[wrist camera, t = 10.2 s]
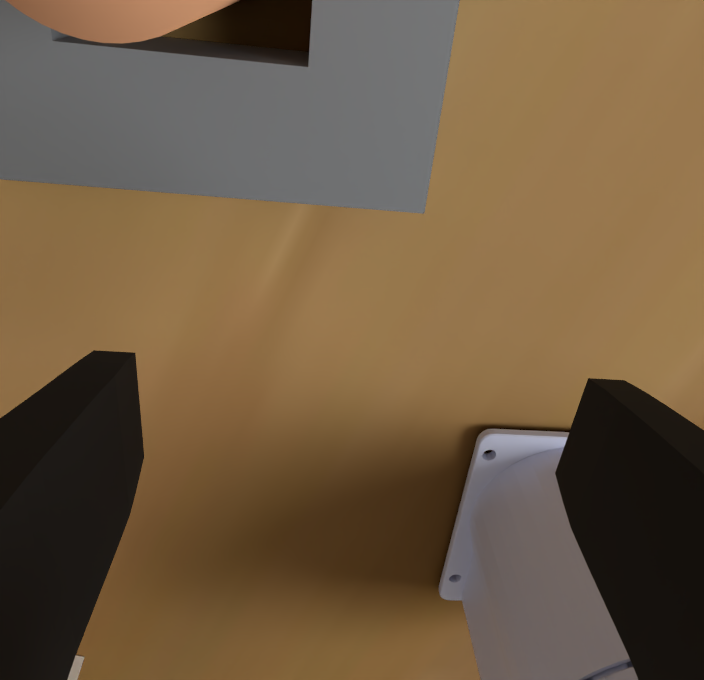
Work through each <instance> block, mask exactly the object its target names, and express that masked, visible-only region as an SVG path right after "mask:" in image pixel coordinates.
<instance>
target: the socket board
mask: <svg viewBox="0 0 704 680" xmlns="http://www.w3.org/2000/svg"><path fill="white" fill-rule="evenodd" d="M459 1H460V0H312V12H311V28H310V44H309V52H305V51H295V50H286V49H276V48H267V47H257V46H248V45H238V44H229V43H219V42H209V41H200V40H190V39H181V38H171V37H162V36H160V37H156V38H152V39H148V40H145V41H140V42H131V43H122V44H121V43H100V42H94V41H88V40H83V39H79V38H76V37H73V36H69V35H66V34H63V33H60V32H58V31H56V30H54V29H51V28H49V27H47V26H45V25H42V24H40V23H39V22H37V21H35V20H34V19H32V18H30V17H28V16H27V15H25V14H23V13H22V12H20V11H19V10H18V9H16V8H15V7H14V6H12V5H11V4H10V3H8V2H7V1H6V0H0V179H4V180H17V181H29V182H41V183H54V184H66V185H79V186H91V187H103V188H116V189H128V190H140V191H153V192H165V193H177V194H190V195H202V196H214V197H227V198H239V199H251V200H264V201H276V202H289V203H301V204H313V205H326V206H338V207H350V208H363V209H375V210H387V211H400V212H412V213H424V212H425V206H426V200H427V194H428V188H429V182H430V175H431V169H432V163H433V157H434V151H435V145H436V139H437V133H438V127H439V121H440V115H441V109H442V103H443V97H444V91H445V85H446V79H447V73H448V67H449V61H450V55H451V49H452V43H453V37H454V31H455V25H456V19H457V13H458V7H459Z"/></svg>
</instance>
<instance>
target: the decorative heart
mask: <svg viewBox="0 0 704 680" xmlns="http://www.w3.org/2000/svg"><path fill="white" fill-rule="evenodd" d="M83 661H84V657H83V656H75V659H74V662H73V665H72V668H71V670H70V673H69V676H68V679H67V680H77V679H78V676H79V673H80V670H81V667H82V664H83Z"/></svg>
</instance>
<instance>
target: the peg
mask: <svg viewBox="0 0 704 680" xmlns="http://www.w3.org/2000/svg"><path fill="white" fill-rule="evenodd" d="M6 1H7V2H8V3H10V4H11V5H12V6H14V7H15V8H16V9H18V10H19V11H20V12H22V13H23V14H25V15H27V16H28V17H30V18H32V19H34V20H35V21H37V22H39V23H40V24H42V25H45V26H47V27H49V28H51V29H54V30H56V31H58V32H60V33H63V34H66V35H69V36H73V37H76V38H79V39H83V40H88V41H94V42H100V43H121V44H122V43H131V42H140V41H145V40H148V39H152V38H156V37H160V36H162V35H164V34H167V33H169V32H171V31H173V30H176V29H178V28H180V27H182V26H185V25H187V24H189V23H191V22H194V21H196V20H198V19H200V18H203V17H205V16H207V15H209V14H211V13H214V12H216V11H218V10H220V9H223V8H225V7H227V6H229V5H231V4H234V3H236V2H238V1H240V0H6Z"/></svg>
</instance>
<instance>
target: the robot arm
mask: <svg viewBox="0 0 704 680" xmlns="http://www.w3.org/2000/svg"><path fill="white" fill-rule="evenodd" d="M487 450H492V452H490V453H486V454H485V453H484V452H485V451H487ZM143 459H144V450H143V438H142V427H141V415H140V404H139V392H138V380H137V369H136V357H135V353H128V352H111V351H93V352H91V353H90V354H88V355H87V356H85V357H84V358H82V359H81V360H79V361H78V362H77V363H75V364H74V365H73V366H71V367H70V368H69V369H67V370H66V371H65V372H63V373H62V374H61V375H59V376H58V377H57V378H55V379H54V380H52V381H51V382H50V383H48V384H47V385H46V386H44V387H43V388H42V389H40V390H39V391H38V392H36V393H35V394H34V395H32V396H31V397H29V398H28V399H27V400H25V401H24V402H22V403H21V404H20V405H18V406H17V407H15V408H14V409H13V410H11V411H10V412H9V413H7V414H6V415H4V416H3V417H2V418H0V680H67V679H68V676H69V673H70V670H71V668H72V665H73V662H74V659H75V656H76V653H77V650H78V648H79V645H80V642H81V640H82V637H83V635H84V632H85V630H86V627H87V624H88V622H89V619H90V617H91V614H92V612H93V609H94V607H95V604H96V601H97V599H98V596H99V594H100V591H101V589H102V586H103V583H104V581H105V578H106V576H107V573H108V571H109V568H110V565H111V563H112V560H113V558H114V555H115V552H116V550H117V547H118V545H119V542H120V539H121V537H122V534H123V532H124V529H125V526H126V524H127V521H128V518H129V515H130V512H131V508H132V504H133V500H134V496H135V493H136V489H137V484H138V480H139V476H140V472H141V467H142V463H143ZM439 593H440V596H441V597H442V598H443V599H445V600H462V603H463V607H464V611H465V615H466V620H467V624H468V628H469V632H470V637H471V641H472V645H473V649H474V654H475V658H476V662H477V666H478V671H479V675H480V679H481V680H704V430H702V429H701V428H699V427H698V426H696V425H695V424H693V423H692V422H690V421H689V420H687V419H686V418H684V417H683V416H681V415H680V414H678V413H677V412H675V411H674V410H672V409H671V408H669V407H668V406H666V405H665V404H663V403H662V402H660V401H658V400H657V399H655V398H654V397H652V396H651V395H649V394H647V393H646V392H644V391H642V390H641V389H639V388H637V387H635V386H634V385H632V384H630V383H628V382H626V381H624V380H608V379H590V378H588V381H587V384H586V386H585V389H584V392H583V395H582V398H581V401H580V403H579V406H578V409H577V412H576V415H575V418H574V421H573V423H572V426H571V429H570V432H553V431H532V430H511V429H487V430H484V431H482V432H481V433H480V434H479V436H478V437H477V440H476V444H475V448H474V452H473V456H472V460H471V464H470V467H469V471H468V475H467V479H466V483H465V487H464V491H463V494H462V498H461V502H460V506H459V510H458V514H457V518H456V522H455V525H454V529H453V533H452V537H451V541H450V545H449V549H448V552H447V556H446V560H445V564H444V568H443V572H442V576H441V579H440V583H439Z"/></svg>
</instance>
